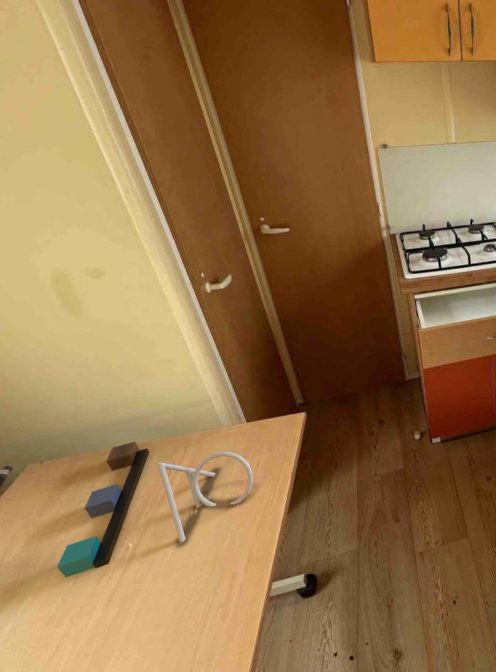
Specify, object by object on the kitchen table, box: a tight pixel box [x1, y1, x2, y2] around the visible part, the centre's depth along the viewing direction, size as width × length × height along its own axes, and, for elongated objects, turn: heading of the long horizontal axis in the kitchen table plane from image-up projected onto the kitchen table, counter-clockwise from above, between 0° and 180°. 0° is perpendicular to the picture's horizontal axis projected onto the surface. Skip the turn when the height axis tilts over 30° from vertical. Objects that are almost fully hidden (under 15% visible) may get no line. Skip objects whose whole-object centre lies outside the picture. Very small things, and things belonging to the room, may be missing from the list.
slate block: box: [84, 483, 122, 519], centre depth 93 cm, size 4×4×4 cm
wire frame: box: [157, 451, 254, 543], centre depth 95 cm, size 18×13×16 cm
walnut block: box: [106, 441, 141, 472], centre depth 104 cm, size 4×4×4 cm
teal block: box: [56, 535, 102, 578], centre depth 82 cm, size 4×4×4 cm
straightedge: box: [93, 448, 150, 569], centre depth 94 cm, size 2×30×2 cm, turn 25°
